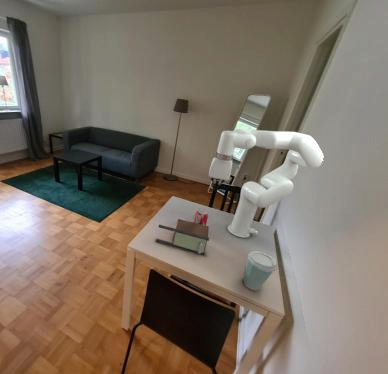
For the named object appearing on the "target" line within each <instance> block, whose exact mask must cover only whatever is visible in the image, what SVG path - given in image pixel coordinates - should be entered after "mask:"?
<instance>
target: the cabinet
mask: <svg viewBox="0 0 388 374" xmlns="http://www.w3.org/2000/svg"><path fill="white" fill-rule="evenodd" d="M157 228H160V229H164V230H168V231H171V232H174V235H173V239H172V242H170V241H166V240H164V239H163V240H162V239H160V238H156V240H155V242H156V243H158V244H162V245H166V246H168V247H171V248H176V249H179V250H183V251H186V252H190V253H193V254H197V255H200V256H205V255H206V252H205V250H206V246H207V242H208V241H210V237H209V229H210V226H209V225H206V226H205V225H201V224H197V223H194V221H193V222H192V221H189V220H185V219H181V218H178V219H177V222H176V225H175V228H174V227H170V226H167V225H162V224H160V223H159V224H158V227H157ZM176 232H178V233H182V234H185V235H189V236H193V237H197V238H200V239H204V240H206V244H205V248H204V251H203V253H200V254H199V253H198V251H194V250H191V249H187V248H184V247H180V246H177V245H173V243H174V238H175V234H176Z"/></svg>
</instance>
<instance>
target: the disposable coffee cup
mask: <svg viewBox="0 0 388 374" xmlns="http://www.w3.org/2000/svg"><path fill="white" fill-rule="evenodd" d="M277 264H278V263H277V260H276V259H275V258H274V257H273V256H271V255H269V254H268V253H265V252H263V251H258V250H257V251H251V252H249V253H248V254H247V260H246V265H245V270H244V275H243V278H242V279H243V284H244V285H245V286H246V287H247V288H249V289H250V290H253V291H258V290H260V289H261V287H262V286H263V285H264V284H265V283H266V282H267V280H268V279H269V277H270V276H271V275H272V274H273V272H275V271H276V270H277V269H278V265H277Z"/></svg>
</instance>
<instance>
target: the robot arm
mask: <svg viewBox="0 0 388 374" xmlns="http://www.w3.org/2000/svg"><path fill="white" fill-rule="evenodd" d="M254 147H257V148H258V147H259V148H261V149H265V150H266V149H267V150H288V151H287V154H286V157H285V160H284V161H283V163H282V164H281V165H280V166H278V167H277V168H275V169H273V170H272V171H270V172H268V173H266V174H265V175H263V176H262V177H261V178H260V184H259V183H258V182H257V181H253V180H251V181H247V182H245V183H243V185H242V186H241V190H240V197H239V201H238V203H237V207H236V210H235V213H234V216H233V219H232V221H231V223H230V224H228V225H227V231H228V232H230V234H231V235H234V236H235V237H238V238H243V239H246V238H249V237H250V236H251V234H254V235H258V233H259V231H258V230H256V229H255V228H254V227H251V225H252V223H253V220H254V217H255V215H256V212H257V210H258V208H260V209H265V208H268V207H270V206H272V205H274V204H276V203H278V202H280V201H281V200H284V199H285V198H287V197H289V196H290V195H291V194H292V192H293V190H294V187H295V186H294V183H293V182H292V181H291V180H292V179H294V178H295V177H296V175H297V174H298V171H299V166H302V167H304V168H306V169H310V170H314V169H317V168H319V167H321V166H322V164H323V163H322V161H323V162H324V160H323V158H324V153H323V152H322V150H321V148H320V146H319V144H318V143H317V141H316V140H315V139H314V138H313V137H312V136H311V135H308V134H305V133H301V132H298V131H280V130H279V131H277V130H261V129H259V130H258V129H245V128H237V129H234V130H223V131H222V132H221V134H220V138H219V141H218V145H217V150H216V154H215V156H214V157H213V158H212V160H211V163H210V166H209V171H208V175H207V176H206V179H209V180H211V182H212V183H213V184H212V187H211V189H212V191H213V192H218V191H219V189H220V185H222V184H223V183H229V182H230V177H231V174H232V168H233V160H236V158H237V157H236V156H235V155H234V153H235V149H242V150H250V149H252V148H254ZM324 159H325V158H324ZM321 163H322V164H321ZM217 180H218V181H217Z"/></svg>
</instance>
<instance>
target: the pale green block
mask: <svg viewBox="0 0 388 374" xmlns="http://www.w3.org/2000/svg"><path fill="white" fill-rule="evenodd" d="M174 234H175V233H174ZM173 239H174V243H173V242H172V243H173V245H177V246H180V247H184V248H187V249H191V250H194V251H198V253H199V254H198V255H200V253H203V251H204V252H205V250H204V248H205V249H206V247H205V244H206V245H207V243H206V240H204V239H200V238H197V237H193V236H189V235H185V234H182V233H178V232H176V234H175V238H174V237H173Z"/></svg>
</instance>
